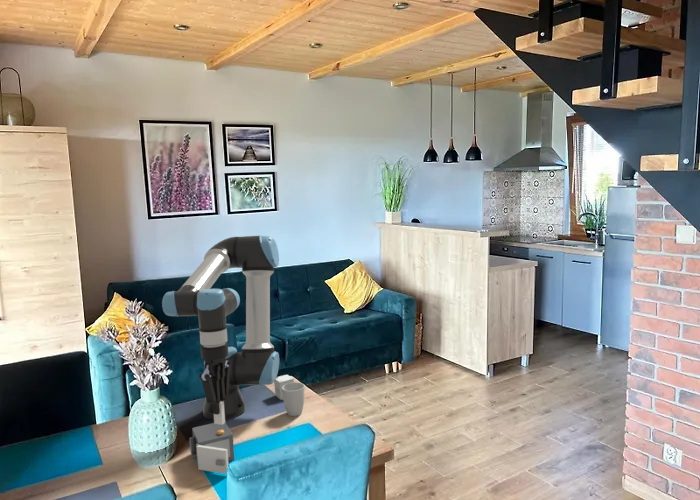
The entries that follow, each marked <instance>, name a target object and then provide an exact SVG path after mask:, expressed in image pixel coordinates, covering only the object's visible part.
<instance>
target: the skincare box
mask: <svg viewBox="0 0 700 500" xmlns="http://www.w3.org/2000/svg"><path fill="white" fill-rule="evenodd" d="M294 380H295V379H294V378H293V377H292V376H290V375H289V374H283V375H280V376H276V379H275V381H274V382H273V383H274V385H273V386H274V395H275V397H276V398H278V399H279V400H280V401H284V400H283V393H282V386H283V385H285V384H288V383H293V382H294Z"/></svg>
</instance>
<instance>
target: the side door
mask: <svg viewBox="0 0 700 500" xmlns="http://www.w3.org/2000/svg"><path fill="white" fill-rule="evenodd" d="M196 453H197V458H196V463H197V464H196V465H197V469H198V471H199V470H200V471H205V472H212V473H216V474H217V473H219V474H225V475H228V474H227V468H228V465H229V464H230V463H229V462H230V461H228V449H223V448H216V447H209V446H202V445H198V444H196ZM229 466H230V465H229Z"/></svg>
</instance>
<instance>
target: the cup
mask: <svg viewBox="0 0 700 500" xmlns="http://www.w3.org/2000/svg"><path fill="white" fill-rule="evenodd" d="M305 389H306V388H305V384H304V383H303V382H302V383H301V382H299V381H298V382H297V381H295V382H293V383H288V384H285V385H283V386H282V393H283V400H282V401H283V404H284V407H285V411H286V413H287V415H288V416H289V417H290V416H291V417H297V416H300V415H302V414H303V410H304V406H305Z"/></svg>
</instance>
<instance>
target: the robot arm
mask: <svg viewBox="0 0 700 500" xmlns="http://www.w3.org/2000/svg"><path fill="white" fill-rule="evenodd" d="M279 261H280V255H279V248H278V245H277V243H276V240H275V239H274V237H272V236H270V235H251V236H250V235H249V236H246V235H245V236H231V237H228V238H225V239H222V240H221V241H219V242H217V243H215V244H214V245H213V246H212V247H210V249H208V250H207V251H206V253H205V255H204V256H203V261H202V262H201V263H200V264H199V266H198V267H197V268H196V269H195V270H194V272H192V274H191V275H190V276H189V277H188V278H187V280H185V282H184V283H183V284H182V286H181V287H180V288H179V289H178V290H177V291H175V290H172V291H167V292H166V293H165V294H164V295H163V297H162V301H161V304H162V305H161V307H162V311H163V313H164V314H165V315H166V316H168V317H177V318H178V317H196V316H197V318H198V319H197V320H198V330H199V343H200V357H201V359H202V360H203V369H204V371H203V373H199V375H198V376H199V379H200V381H201V382H202V383H201V384H202V388H203V390H204V395H205V398H204V402H203V406H202V414H203V415H202V416H203V417H204V418H205V419H206V420H210V421H211V420H212V421H213V423H214V424H220V425H223V424H224V423H225V422H226V420H231V419H233V418H236V417H238V416H239V417H240V415H242V414H243V413H244V412H245V411H246V402H245V399H244V397H243V395H242V393H241V391H240V386H260V387H261V386H264V385H265V386H266V385H267V386H268V385H269V386H270V385H272V384H273V383H274V381H275V379H276V377H278V372H279V369H280V368H279V367H280V354H279V352H278V351H275V346H274V345H273V344H272V342H271V325H270V324H271V301H270V300H271V289H270V288H271V287H270V286H271V281H270V280H271V276H272V275H273V274H274V272H275V268H278V266H279V264H280V263H279ZM237 268H238V269H241V272H242V274H243V275H244V276H245V278H246V279H245V285H246V286H245V288H246V289H245V291H246V292H245V293H246V294H245V295H246V296H245V297H246V299H245V315H246V316H245V321H246V322H245V336H246V337H245V343H244V345H243V346H242V347H241V351H239V352H238V350H237V348H236V347H234V346H229V343H228V339H229V338H228V330H227V329H228V328H227V316H229V315H231V314H233V313H234V312H235V311H236V310H237V308H238V307H239V306H240V304H241V303H240V302H241V298H240V295H239V293H238V292H237V291H236V290H235V289H233V288H231V287H230V288H229V287H227V288H222V289H221V288H212V287H213V285H214V284H215V283H216V282H217V280H218V279H219V277H220V276H221V274H223V273H225V272H227V271H228V270H229V269H237Z"/></svg>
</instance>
